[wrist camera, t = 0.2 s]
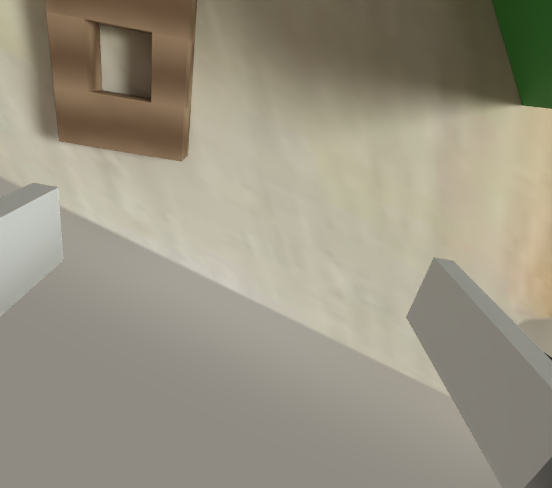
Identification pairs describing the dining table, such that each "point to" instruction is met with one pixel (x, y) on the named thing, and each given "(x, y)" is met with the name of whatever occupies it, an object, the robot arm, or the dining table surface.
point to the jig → (114, 106)
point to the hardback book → (528, 47)
